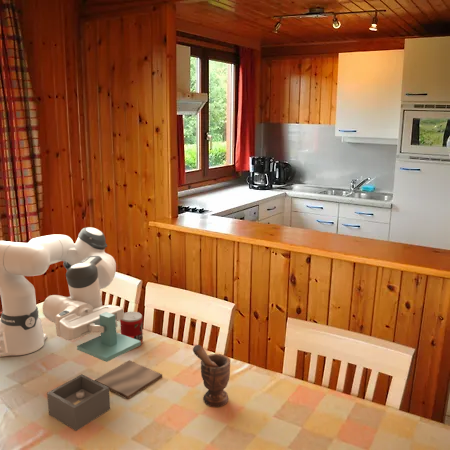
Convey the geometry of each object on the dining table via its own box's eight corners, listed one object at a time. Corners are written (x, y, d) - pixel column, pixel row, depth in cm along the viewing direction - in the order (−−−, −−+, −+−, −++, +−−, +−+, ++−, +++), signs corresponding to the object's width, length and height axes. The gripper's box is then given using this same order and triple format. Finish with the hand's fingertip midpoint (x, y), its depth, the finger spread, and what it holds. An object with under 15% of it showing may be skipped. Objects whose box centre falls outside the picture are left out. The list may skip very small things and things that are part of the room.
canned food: (138, 349, 175) (137, 321, 172) (117, 347, 176) (116, 319, 174) (146, 339, 182) (145, 312, 179) (126, 337, 184) (124, 310, 181)
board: (94, 382, 154) (94, 379, 153) (129, 362, 166) (129, 360, 165) (127, 399, 145) (127, 396, 145) (162, 377, 157) (162, 374, 157)
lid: (77, 352, 142) (74, 316, 140) (112, 337, 152) (109, 303, 150) (106, 365, 134) (104, 327, 132) (141, 347, 144) (139, 312, 142)
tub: (48, 414, 138) (47, 392, 136) (83, 394, 147) (81, 374, 145) (76, 430, 131) (74, 408, 129) (110, 409, 140) (109, 387, 139)
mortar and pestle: (214, 417, 137) (214, 353, 132) (189, 408, 141) (188, 345, 136) (234, 397, 147) (235, 337, 142) (210, 388, 151) (211, 329, 146)
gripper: (107, 315, 158) (136, 325, 150) (52, 337, 142) (82, 350, 134) (106, 297, 157) (135, 306, 149) (50, 317, 141) (80, 328, 133)
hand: (110, 327), depth 141 cm, fingers closed on lid, 2 cm apart
